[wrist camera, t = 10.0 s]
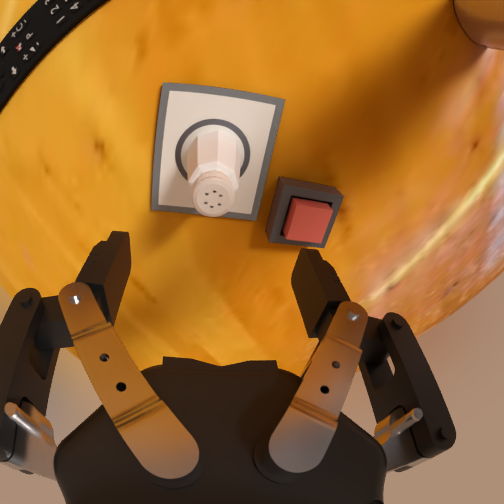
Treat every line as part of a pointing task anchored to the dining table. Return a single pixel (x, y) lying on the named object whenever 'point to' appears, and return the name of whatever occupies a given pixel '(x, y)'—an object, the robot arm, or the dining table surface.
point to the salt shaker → (213, 172)
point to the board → (206, 120)
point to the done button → (307, 220)
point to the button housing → (303, 191)
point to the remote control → (37, 38)
